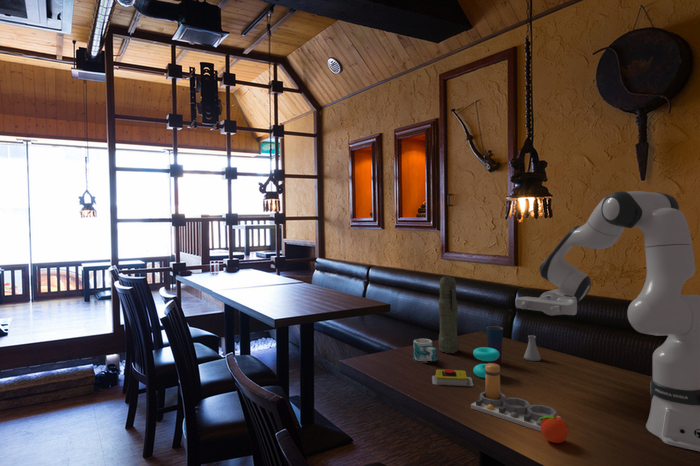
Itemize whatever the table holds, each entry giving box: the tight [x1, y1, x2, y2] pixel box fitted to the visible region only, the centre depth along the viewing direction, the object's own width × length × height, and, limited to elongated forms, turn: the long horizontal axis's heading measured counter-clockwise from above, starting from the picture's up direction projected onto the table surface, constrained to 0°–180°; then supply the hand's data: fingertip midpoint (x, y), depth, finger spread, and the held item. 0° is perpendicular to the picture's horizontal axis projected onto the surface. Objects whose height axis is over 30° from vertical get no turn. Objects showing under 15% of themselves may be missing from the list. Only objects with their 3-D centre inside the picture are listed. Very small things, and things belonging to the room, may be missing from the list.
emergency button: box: [431, 368, 474, 387], centre depth 167 cm, size 9×4×15 cm
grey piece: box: [470, 390, 562, 432], centre depth 137 cm, size 24×11×3 cm, turn 43°
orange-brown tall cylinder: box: [484, 362, 501, 400], centre depth 144 cm, size 5×5×12 cm
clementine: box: [537, 415, 569, 444], centre depth 120 cm, size 8×7×7 cm
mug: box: [413, 338, 437, 363], centre depth 191 cm, size 8×12×8 cm
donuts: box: [472, 346, 500, 379], centre depth 172 cm, size 10×10×10 cm
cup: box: [485, 325, 504, 365], centre depth 187 cm, size 7×7×15 cm
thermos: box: [437, 275, 459, 353], centre depth 205 cm, size 9×12×35 cm
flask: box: [523, 335, 542, 362], centre depth 191 cm, size 7×7×10 cm
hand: (535, 308), depth 152 cm, fingers open, 8 cm apart
